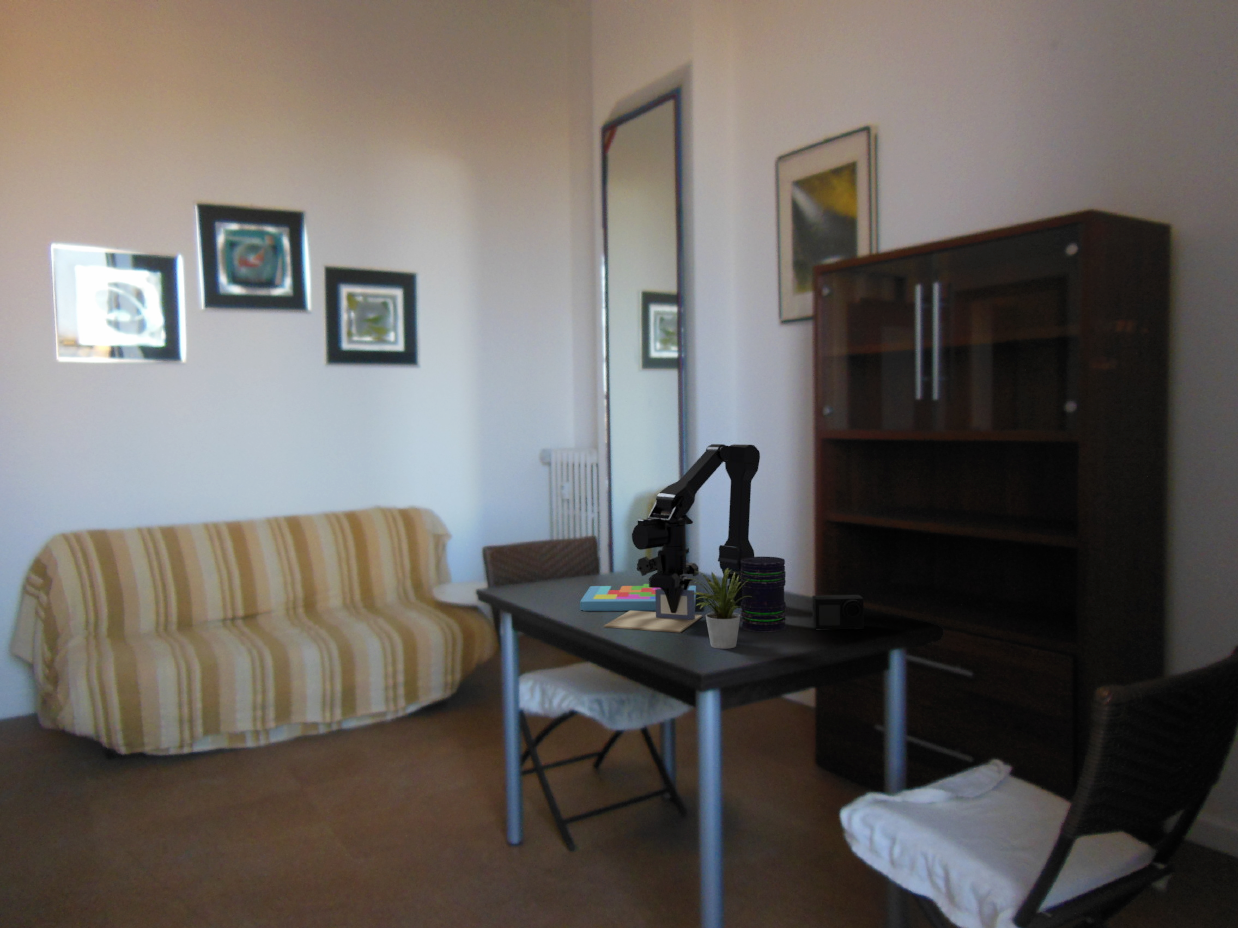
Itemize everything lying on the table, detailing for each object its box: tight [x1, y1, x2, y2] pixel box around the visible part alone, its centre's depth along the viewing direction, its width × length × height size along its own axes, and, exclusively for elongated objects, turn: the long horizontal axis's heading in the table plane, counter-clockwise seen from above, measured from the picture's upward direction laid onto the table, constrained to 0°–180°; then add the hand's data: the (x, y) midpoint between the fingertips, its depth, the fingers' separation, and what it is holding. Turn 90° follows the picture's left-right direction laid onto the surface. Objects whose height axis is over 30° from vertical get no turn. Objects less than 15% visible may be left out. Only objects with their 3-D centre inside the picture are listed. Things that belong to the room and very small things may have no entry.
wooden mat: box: [603, 610, 703, 633], centre depth 206 cm, size 18×16×1 cm
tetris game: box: [579, 583, 697, 612], centre depth 232 cm, size 28×3×28 cm
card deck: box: [655, 589, 696, 620], centre depth 207 cm, size 9×2×6 cm, turn 68°
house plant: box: [686, 568, 752, 650], centre depth 184 cm, size 14×14×16 cm
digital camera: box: [811, 594, 865, 630], centre depth 195 cm, size 10×5×7 cm, turn 88°
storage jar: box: [740, 556, 787, 633], centre depth 198 cm, size 10×10×15 cm
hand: (675, 611), depth 207 cm, fingers closed
